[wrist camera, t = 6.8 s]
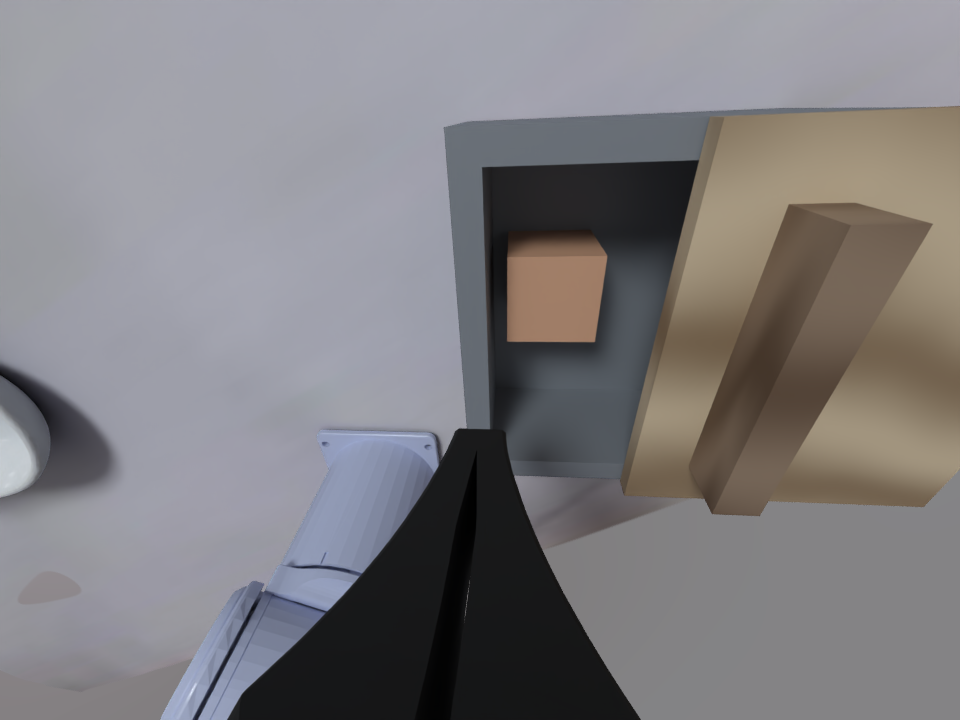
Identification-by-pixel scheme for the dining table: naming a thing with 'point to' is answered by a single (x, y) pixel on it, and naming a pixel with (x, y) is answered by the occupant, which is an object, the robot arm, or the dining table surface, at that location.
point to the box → (567, 274)
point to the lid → (810, 317)
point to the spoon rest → (20, 440)
